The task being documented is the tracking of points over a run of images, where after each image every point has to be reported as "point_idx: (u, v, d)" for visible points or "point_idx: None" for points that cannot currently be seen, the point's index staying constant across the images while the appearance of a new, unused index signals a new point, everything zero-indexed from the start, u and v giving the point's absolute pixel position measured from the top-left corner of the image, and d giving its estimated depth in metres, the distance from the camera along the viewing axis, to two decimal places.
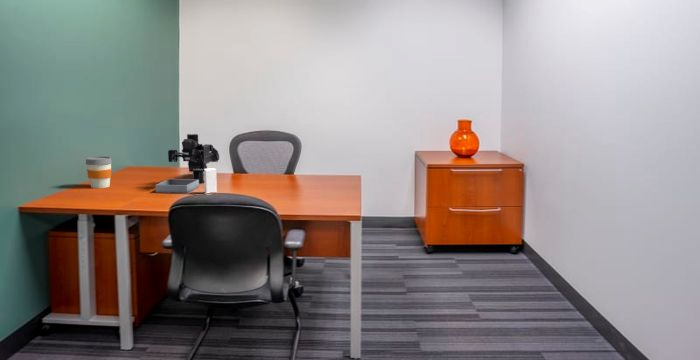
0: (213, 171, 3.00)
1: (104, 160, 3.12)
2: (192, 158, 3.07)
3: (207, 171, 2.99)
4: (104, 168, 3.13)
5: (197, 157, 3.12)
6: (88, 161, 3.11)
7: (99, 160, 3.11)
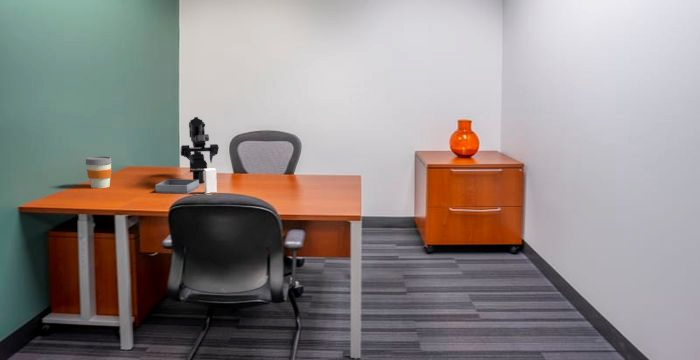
0: (213, 171, 3.00)
1: (104, 160, 3.12)
2: None
3: (207, 171, 2.99)
4: (104, 168, 3.13)
5: None
6: (88, 161, 3.11)
7: (99, 160, 3.11)
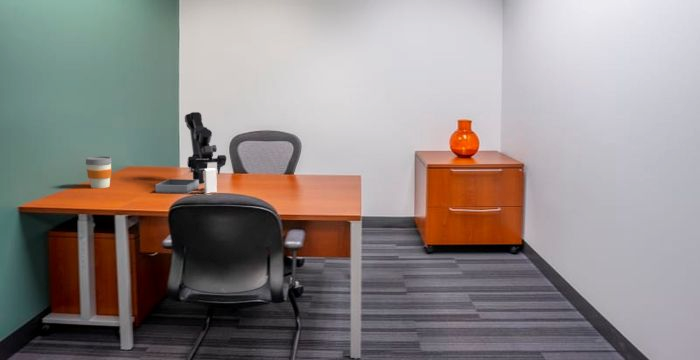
0: (213, 171, 3.00)
1: (104, 160, 3.12)
2: (219, 171, 3.07)
3: (207, 171, 2.99)
4: (104, 168, 3.13)
5: None
6: (88, 161, 3.11)
7: (99, 160, 3.11)
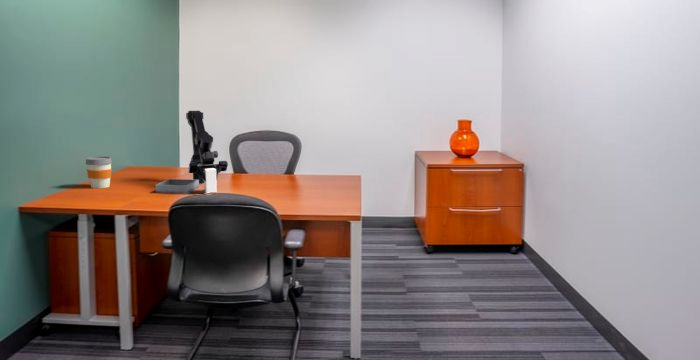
0: (213, 171, 3.00)
1: (104, 160, 3.12)
2: None
3: (207, 171, 2.99)
4: (104, 168, 3.13)
5: None
6: (88, 161, 3.11)
7: (99, 160, 3.11)
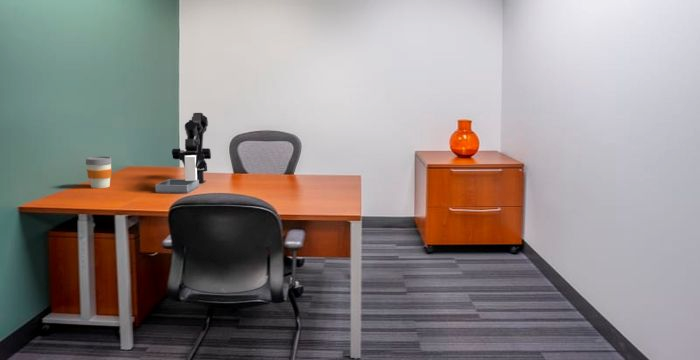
0: (192, 158, 3.02)
1: (104, 160, 3.12)
2: (197, 164, 3.05)
3: (186, 158, 3.01)
4: (104, 168, 3.13)
5: (200, 157, 3.08)
6: (88, 161, 3.11)
7: (99, 160, 3.11)
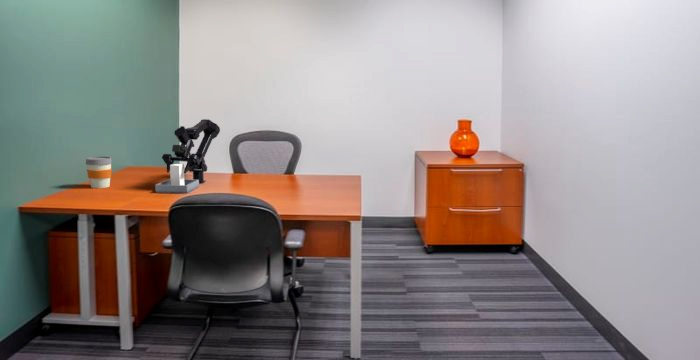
0: (176, 167, 3.06)
1: (104, 160, 3.12)
2: (186, 170, 3.08)
3: (171, 166, 3.07)
4: (104, 168, 3.13)
5: (191, 163, 3.11)
6: (88, 161, 3.11)
7: (99, 160, 3.11)
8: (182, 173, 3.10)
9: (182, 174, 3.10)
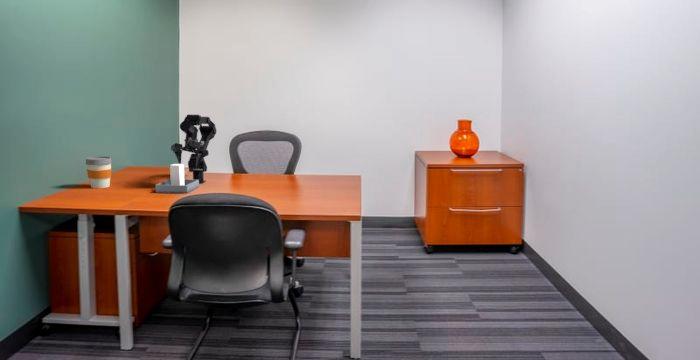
0: (176, 167, 3.06)
1: (104, 160, 3.12)
2: None
3: (171, 166, 3.07)
4: (104, 168, 3.13)
5: None
6: (88, 161, 3.11)
7: (99, 160, 3.11)
8: (182, 173, 3.10)
9: (182, 174, 3.10)
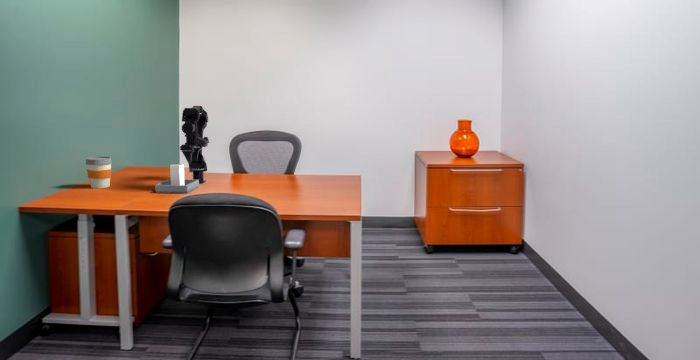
0: (176, 167, 3.06)
1: (104, 160, 3.12)
2: None
3: (171, 166, 3.07)
4: (104, 168, 3.13)
5: None
6: (88, 161, 3.11)
7: (99, 160, 3.11)
8: (182, 173, 3.10)
9: (182, 174, 3.10)
